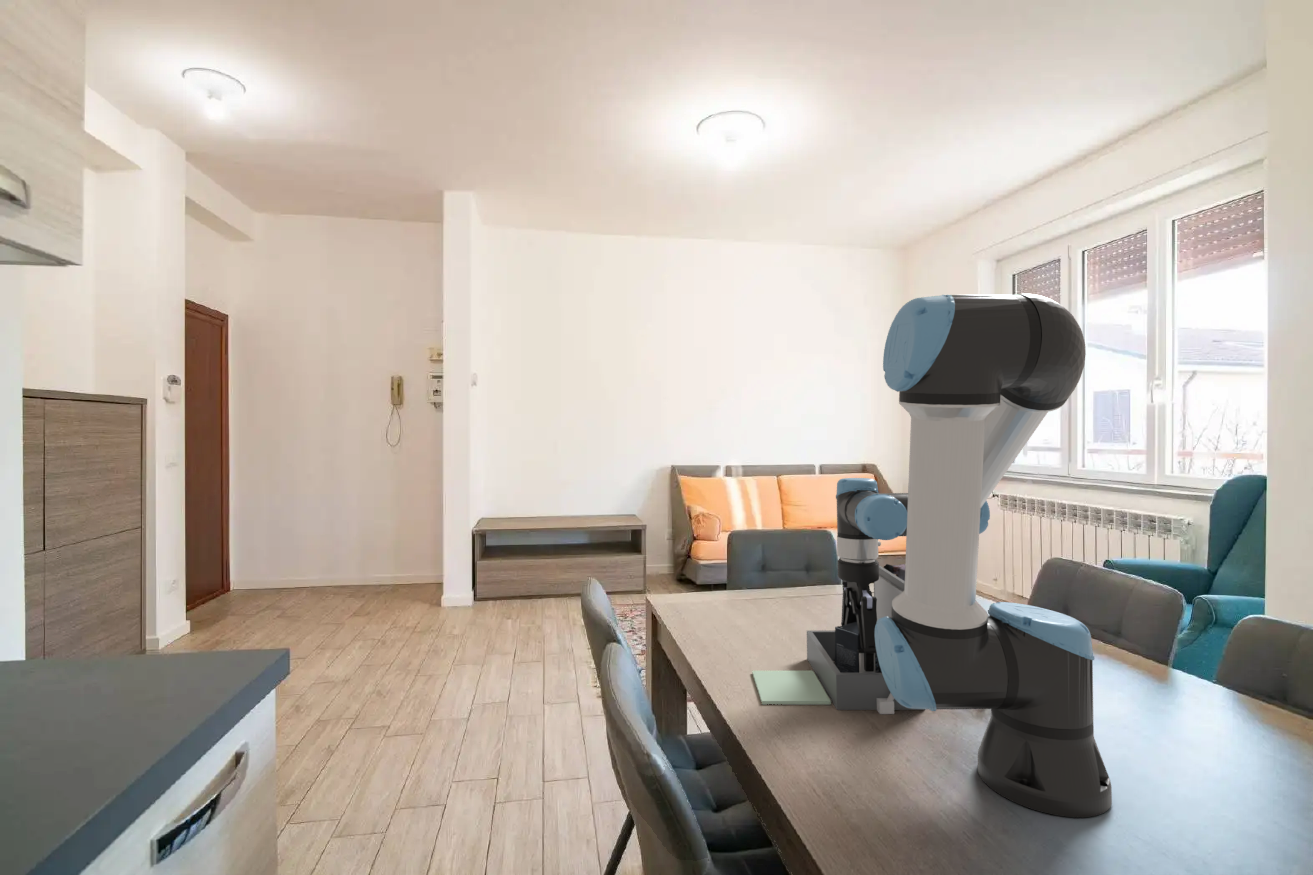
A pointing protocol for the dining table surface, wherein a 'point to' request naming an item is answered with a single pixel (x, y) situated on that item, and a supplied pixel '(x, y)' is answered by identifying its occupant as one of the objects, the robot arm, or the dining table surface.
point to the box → (849, 649)
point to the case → (856, 687)
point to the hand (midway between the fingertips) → (859, 676)
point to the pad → (790, 688)
